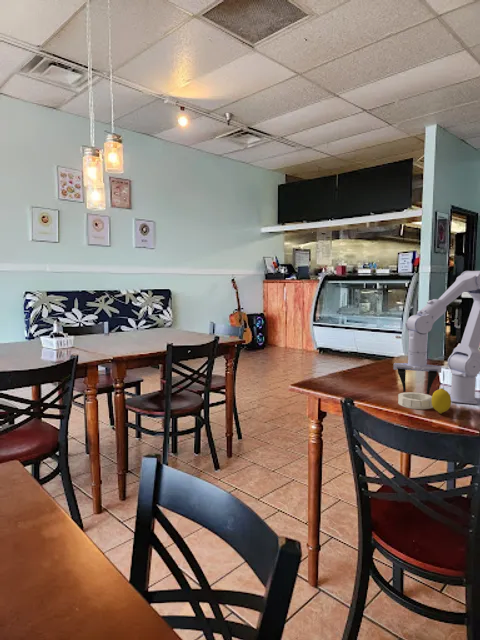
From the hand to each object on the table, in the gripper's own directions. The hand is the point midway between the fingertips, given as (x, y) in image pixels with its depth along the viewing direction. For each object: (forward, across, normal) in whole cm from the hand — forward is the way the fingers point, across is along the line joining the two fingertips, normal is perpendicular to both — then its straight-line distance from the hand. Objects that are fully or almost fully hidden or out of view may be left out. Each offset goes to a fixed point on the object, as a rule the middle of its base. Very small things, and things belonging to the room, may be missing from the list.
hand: (416, 392), depth 146 cm
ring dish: (+4, 0, 0) cm, 4 cm away
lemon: (+4, +7, -8) cm, 12 cm away
